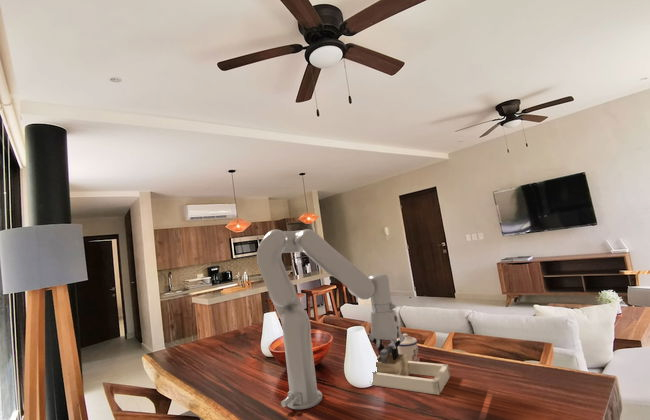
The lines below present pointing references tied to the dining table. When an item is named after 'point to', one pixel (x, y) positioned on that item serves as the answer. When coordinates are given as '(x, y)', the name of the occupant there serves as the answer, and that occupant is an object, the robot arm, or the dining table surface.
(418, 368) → the bay
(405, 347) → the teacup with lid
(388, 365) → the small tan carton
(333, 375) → the dining table surface
